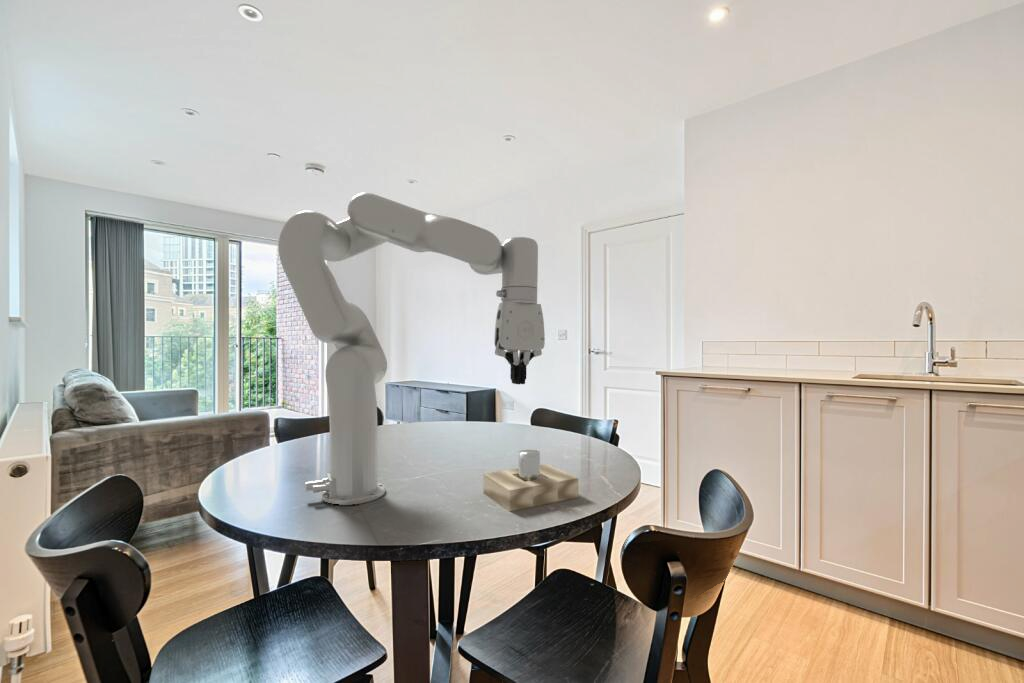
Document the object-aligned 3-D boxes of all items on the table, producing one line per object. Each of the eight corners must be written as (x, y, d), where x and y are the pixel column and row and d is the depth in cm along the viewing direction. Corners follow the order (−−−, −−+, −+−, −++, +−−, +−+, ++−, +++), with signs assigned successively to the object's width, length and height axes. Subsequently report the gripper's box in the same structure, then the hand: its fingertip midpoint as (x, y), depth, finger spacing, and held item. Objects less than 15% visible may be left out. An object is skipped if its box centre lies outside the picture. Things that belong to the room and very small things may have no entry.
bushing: (525, 500, 91) (525, 455, 91) (515, 493, 95) (514, 451, 95) (543, 496, 93) (543, 453, 93) (533, 490, 97) (532, 448, 97)
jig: (509, 511, 85) (509, 490, 85) (483, 492, 96) (483, 473, 96) (578, 497, 93) (578, 477, 93) (547, 481, 103) (547, 463, 103)
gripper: (495, 293, 89) (493, 386, 89) (558, 297, 96) (557, 384, 96) (480, 296, 95) (478, 383, 95) (540, 300, 102) (539, 381, 102)
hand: (518, 383), depth 95 cm, fingers closed
